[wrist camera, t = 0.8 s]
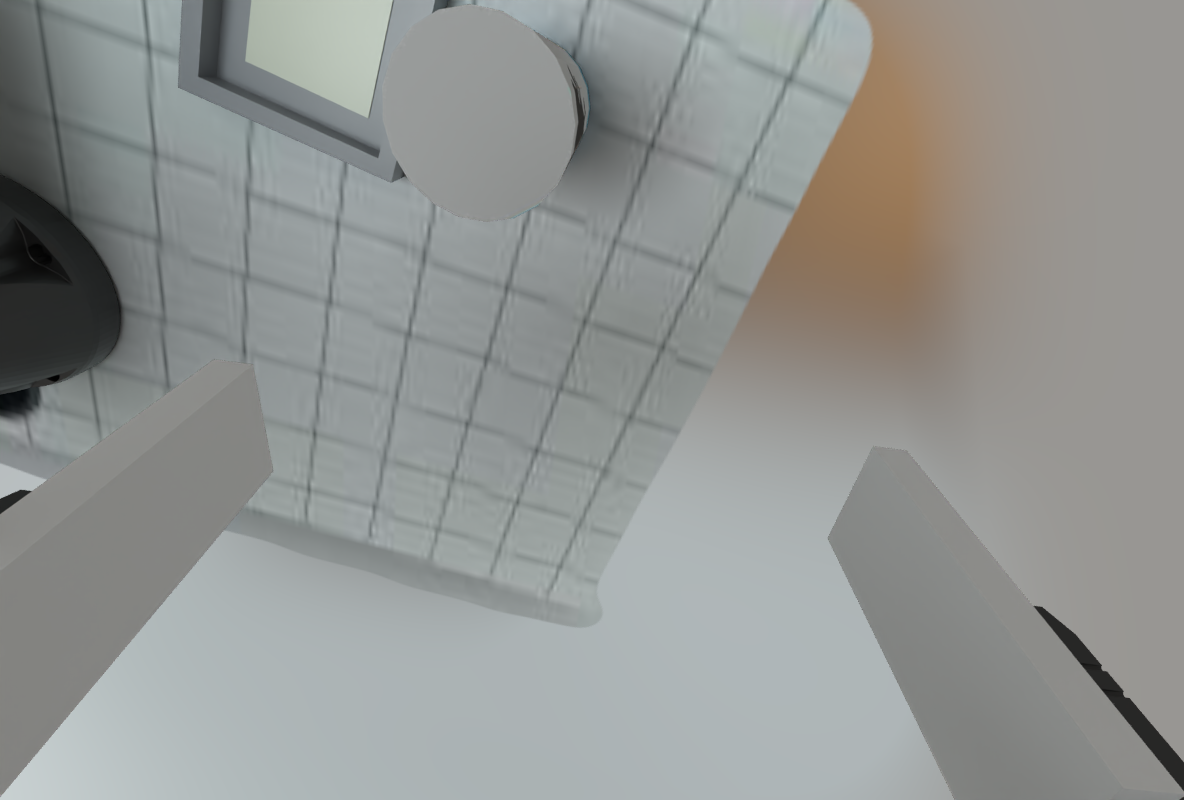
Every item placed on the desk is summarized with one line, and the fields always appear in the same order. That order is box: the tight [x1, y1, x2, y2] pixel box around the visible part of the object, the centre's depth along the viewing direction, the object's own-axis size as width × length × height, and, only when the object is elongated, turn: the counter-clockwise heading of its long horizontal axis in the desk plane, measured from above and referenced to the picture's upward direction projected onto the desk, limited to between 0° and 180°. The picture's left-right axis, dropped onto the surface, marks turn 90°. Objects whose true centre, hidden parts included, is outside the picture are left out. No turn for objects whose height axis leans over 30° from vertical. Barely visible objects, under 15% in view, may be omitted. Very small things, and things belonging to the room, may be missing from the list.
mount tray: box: [178, 0, 448, 183], centre depth 29 cm, size 12×12×2 cm
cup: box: [382, 4, 590, 222], centre depth 26 cm, size 7×7×15 cm
